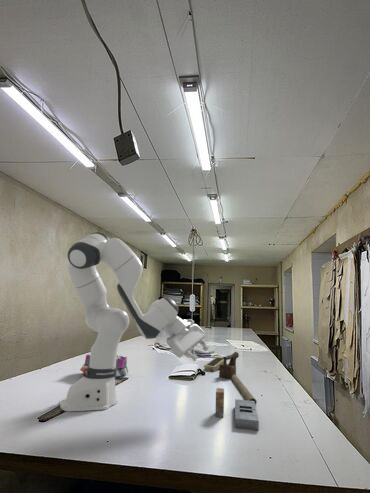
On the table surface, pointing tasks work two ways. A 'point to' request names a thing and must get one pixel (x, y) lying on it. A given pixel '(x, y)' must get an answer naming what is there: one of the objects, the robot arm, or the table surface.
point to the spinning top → (120, 364)
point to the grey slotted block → (246, 415)
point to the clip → (219, 402)
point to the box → (214, 364)
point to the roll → (243, 389)
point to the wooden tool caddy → (228, 366)
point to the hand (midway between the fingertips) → (202, 354)
